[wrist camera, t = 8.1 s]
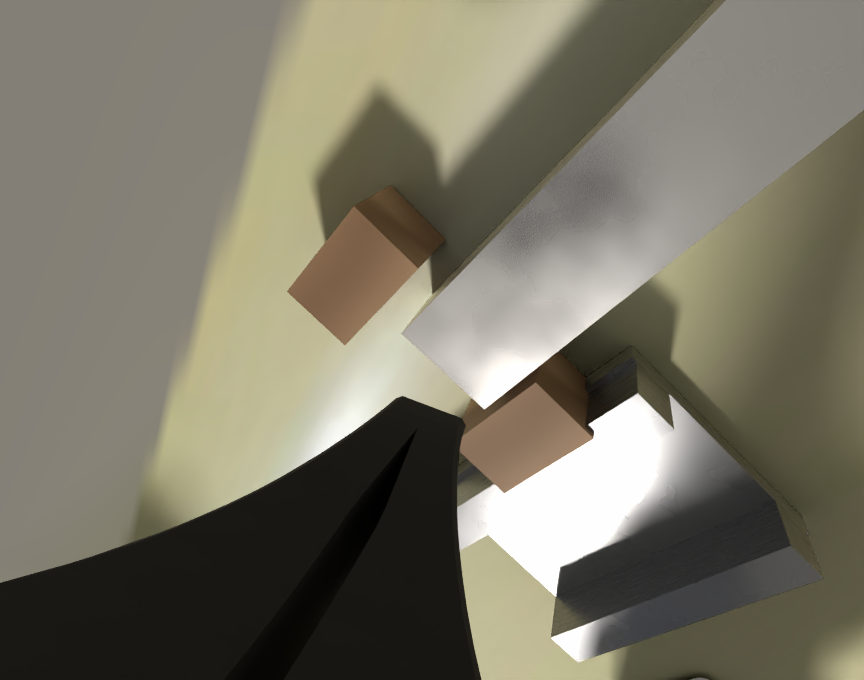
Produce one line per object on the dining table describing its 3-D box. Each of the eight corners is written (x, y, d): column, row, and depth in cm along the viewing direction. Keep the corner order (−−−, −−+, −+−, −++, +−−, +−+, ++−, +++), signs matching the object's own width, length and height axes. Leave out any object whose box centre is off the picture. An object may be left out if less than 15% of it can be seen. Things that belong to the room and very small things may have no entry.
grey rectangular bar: (860, 57, 13) (930, 57, 10) (505, 356, 20) (484, 409, 17) (763, -51, 13) (806, -83, 10) (434, 291, 20) (401, 333, 17)
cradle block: (802, 517, 19) (828, 582, 17) (585, 606, 25) (581, 665, 22) (631, 345, 18) (633, 388, 16) (443, 476, 24) (423, 523, 21)
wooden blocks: (597, 388, 19) (593, 438, 17) (518, 441, 21) (504, 493, 19) (390, 184, 18) (353, 206, 16) (328, 262, 20) (287, 291, 18)
